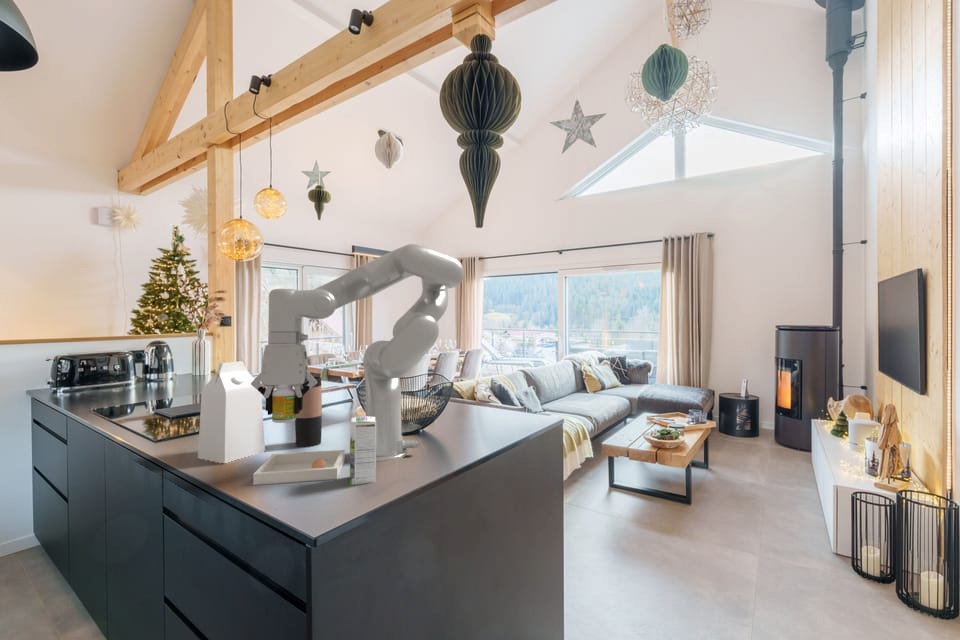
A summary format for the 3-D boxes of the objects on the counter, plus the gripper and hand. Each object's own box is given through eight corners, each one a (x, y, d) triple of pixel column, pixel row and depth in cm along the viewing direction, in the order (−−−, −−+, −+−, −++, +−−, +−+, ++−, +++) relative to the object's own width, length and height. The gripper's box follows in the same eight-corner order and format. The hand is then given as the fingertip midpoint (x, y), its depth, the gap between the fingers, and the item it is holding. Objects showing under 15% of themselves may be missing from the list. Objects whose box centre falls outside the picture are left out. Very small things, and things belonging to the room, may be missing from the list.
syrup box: (350, 478, 102) (349, 417, 102) (376, 476, 104) (375, 415, 104) (349, 487, 96) (349, 422, 97) (377, 484, 98) (376, 420, 98)
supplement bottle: (287, 423, 103) (287, 382, 103) (267, 422, 104) (267, 382, 104) (300, 419, 108) (301, 380, 108) (281, 418, 109) (281, 379, 110)
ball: (326, 469, 107) (326, 456, 107) (324, 474, 104) (324, 460, 104) (313, 470, 106) (313, 457, 106) (310, 475, 103) (310, 461, 103)
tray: (345, 461, 115) (345, 449, 115) (337, 481, 100) (337, 468, 100) (272, 465, 112) (272, 454, 112) (253, 487, 97) (253, 474, 97)
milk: (238, 447, 130) (238, 359, 130) (265, 451, 125) (264, 361, 125) (197, 458, 119) (197, 363, 119) (224, 464, 114) (224, 365, 114)
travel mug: (303, 440, 136) (303, 376, 136) (326, 440, 135) (326, 376, 135) (289, 447, 129) (289, 379, 129) (314, 447, 128) (313, 380, 128)
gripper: (324, 338, 112) (323, 409, 112) (252, 338, 109) (251, 411, 108) (319, 339, 104) (318, 415, 104) (241, 339, 101) (240, 417, 101)
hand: (284, 412), depth 106 cm, fingers closed on supplement bottle, 5 cm apart
